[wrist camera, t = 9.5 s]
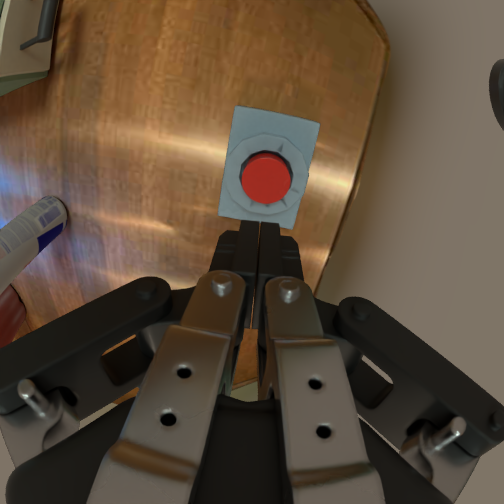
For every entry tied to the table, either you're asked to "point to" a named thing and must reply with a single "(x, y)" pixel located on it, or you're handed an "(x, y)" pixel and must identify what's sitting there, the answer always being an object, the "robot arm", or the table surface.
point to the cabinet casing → (18, 77)
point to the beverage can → (29, 236)
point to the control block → (273, 142)
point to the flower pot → (10, 315)
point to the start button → (266, 178)
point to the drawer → (26, 35)
